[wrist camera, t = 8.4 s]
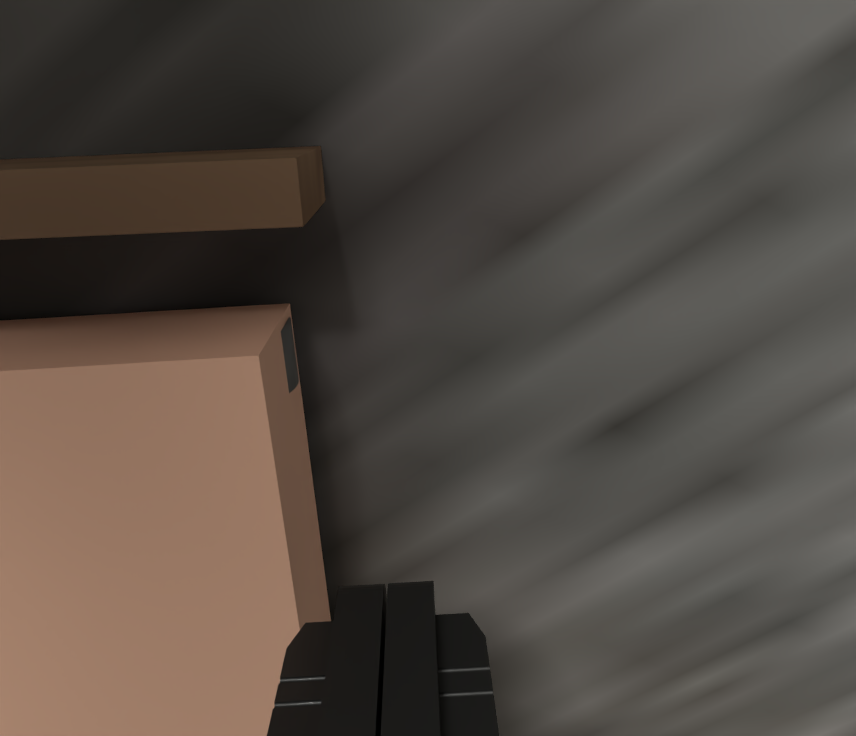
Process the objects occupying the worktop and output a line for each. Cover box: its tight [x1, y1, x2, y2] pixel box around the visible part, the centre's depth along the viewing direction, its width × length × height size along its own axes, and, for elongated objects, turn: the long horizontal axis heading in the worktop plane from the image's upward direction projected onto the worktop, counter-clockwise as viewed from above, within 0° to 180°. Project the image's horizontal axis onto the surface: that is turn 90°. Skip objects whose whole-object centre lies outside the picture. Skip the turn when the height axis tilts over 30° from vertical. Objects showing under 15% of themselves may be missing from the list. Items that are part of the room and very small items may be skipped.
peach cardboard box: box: [0, 303, 331, 736], centre depth 14 cm, size 10×7×4 cm
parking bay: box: [0, 146, 326, 240], centre depth 14 cm, size 15×10×3 cm
